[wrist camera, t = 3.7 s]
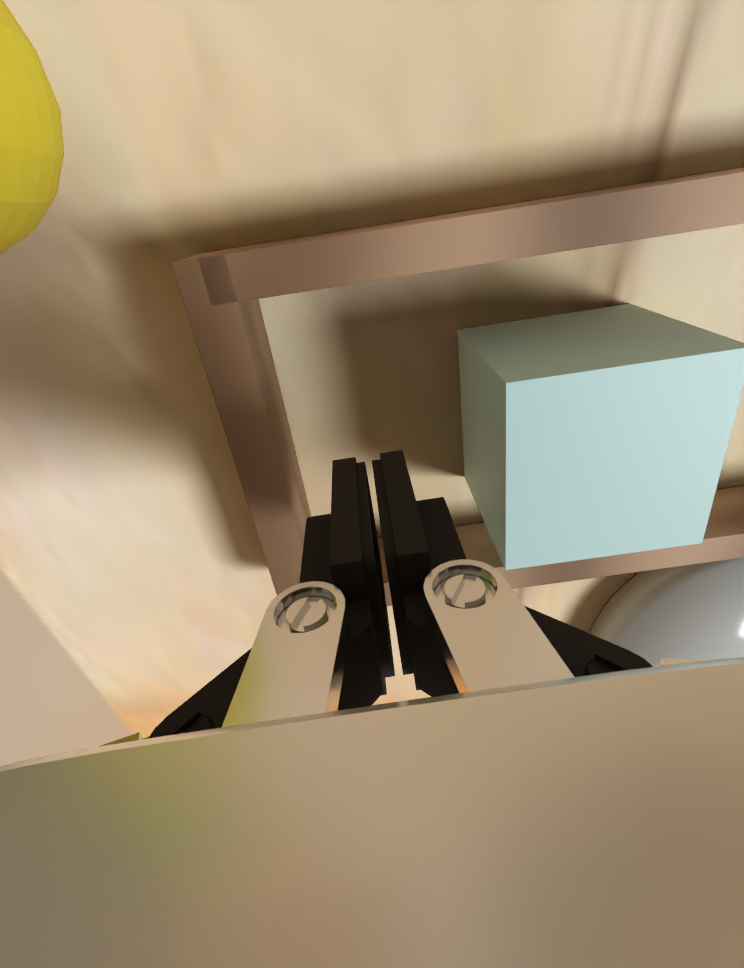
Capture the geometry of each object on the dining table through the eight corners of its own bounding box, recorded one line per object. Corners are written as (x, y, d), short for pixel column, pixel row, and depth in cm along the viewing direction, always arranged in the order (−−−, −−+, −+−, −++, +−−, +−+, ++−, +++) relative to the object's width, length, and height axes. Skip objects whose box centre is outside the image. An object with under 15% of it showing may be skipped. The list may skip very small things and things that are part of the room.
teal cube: (627, 303, 14) (753, 346, 10) (608, 454, 17) (702, 543, 12) (457, 328, 14) (506, 383, 10) (463, 475, 17) (505, 570, 12)
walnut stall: (943, 135, 12) (1071, 120, 10) (806, 499, 18) (870, 540, 16) (200, 253, 13) (171, 262, 11) (292, 570, 18) (284, 619, 16)
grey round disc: (892, 508, 18) (934, 531, 17) (801, 694, 24) (828, 722, 22) (598, 549, 18) (618, 574, 17) (577, 723, 24) (590, 752, 23)
